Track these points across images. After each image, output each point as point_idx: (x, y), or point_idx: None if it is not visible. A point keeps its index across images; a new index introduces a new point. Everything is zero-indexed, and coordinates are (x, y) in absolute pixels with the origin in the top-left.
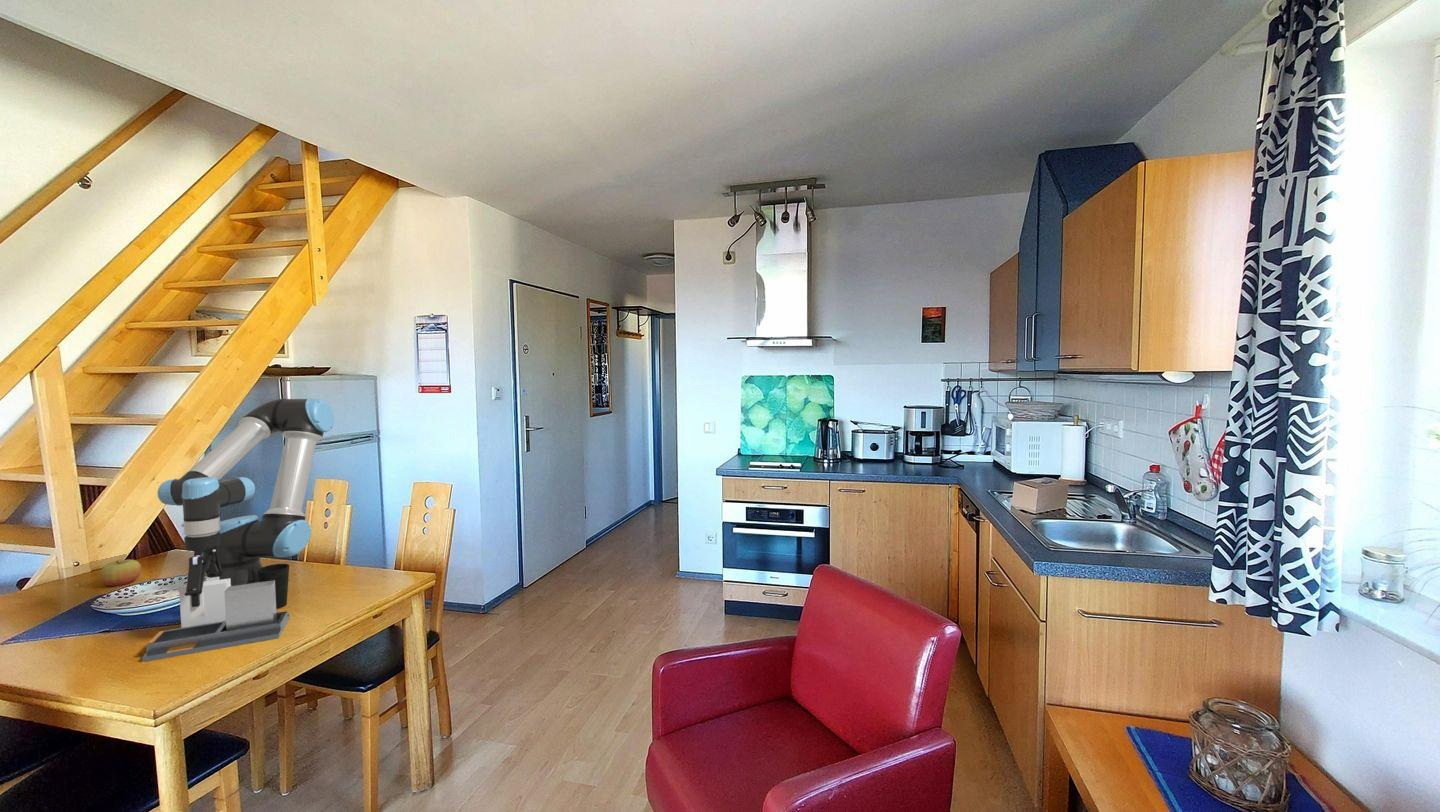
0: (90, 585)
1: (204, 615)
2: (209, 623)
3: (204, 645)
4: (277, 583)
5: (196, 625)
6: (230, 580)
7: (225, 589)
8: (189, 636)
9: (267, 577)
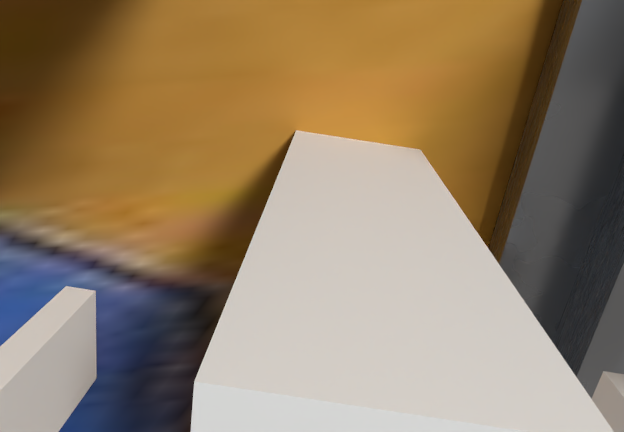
0: None
1: (604, 372)
2: (612, 294)
3: None
4: None
5: (577, 372)
6: (211, 341)
7: (545, 347)
8: (618, 368)
9: None
